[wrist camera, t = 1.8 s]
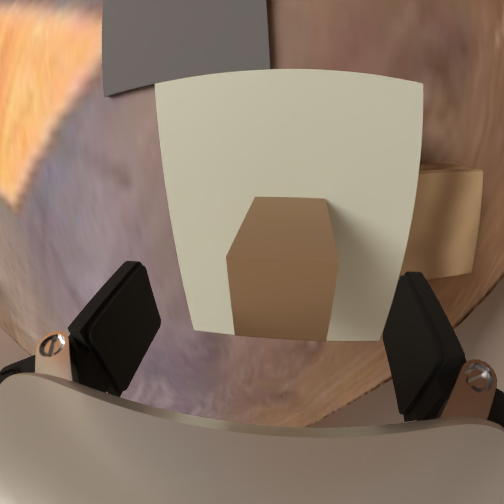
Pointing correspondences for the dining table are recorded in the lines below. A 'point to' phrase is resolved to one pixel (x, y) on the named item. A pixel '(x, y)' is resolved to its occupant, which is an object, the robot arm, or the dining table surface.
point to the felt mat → (180, 40)
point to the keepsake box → (444, 220)
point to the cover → (290, 198)
